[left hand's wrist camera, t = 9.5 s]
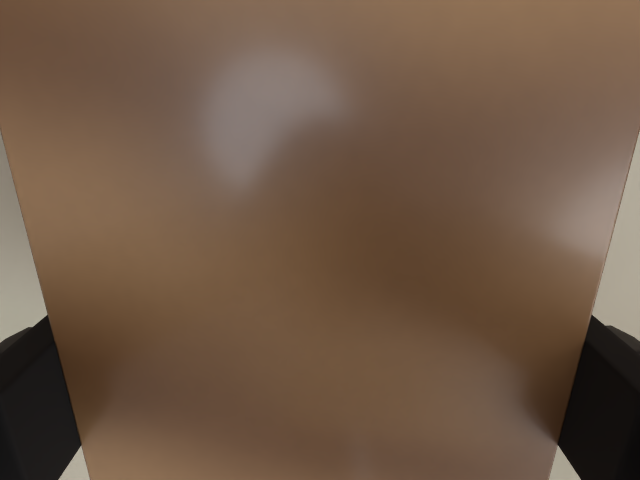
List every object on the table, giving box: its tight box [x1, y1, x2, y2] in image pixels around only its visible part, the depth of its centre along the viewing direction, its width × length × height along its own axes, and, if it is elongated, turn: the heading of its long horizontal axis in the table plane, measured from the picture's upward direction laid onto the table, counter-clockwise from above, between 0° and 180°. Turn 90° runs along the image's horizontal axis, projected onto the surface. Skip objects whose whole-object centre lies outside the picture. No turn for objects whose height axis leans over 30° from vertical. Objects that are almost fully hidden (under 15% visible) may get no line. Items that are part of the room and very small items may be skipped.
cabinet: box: [0, 0, 640, 480], centre depth 11 cm, size 20×11×10 cm, turn 0°
